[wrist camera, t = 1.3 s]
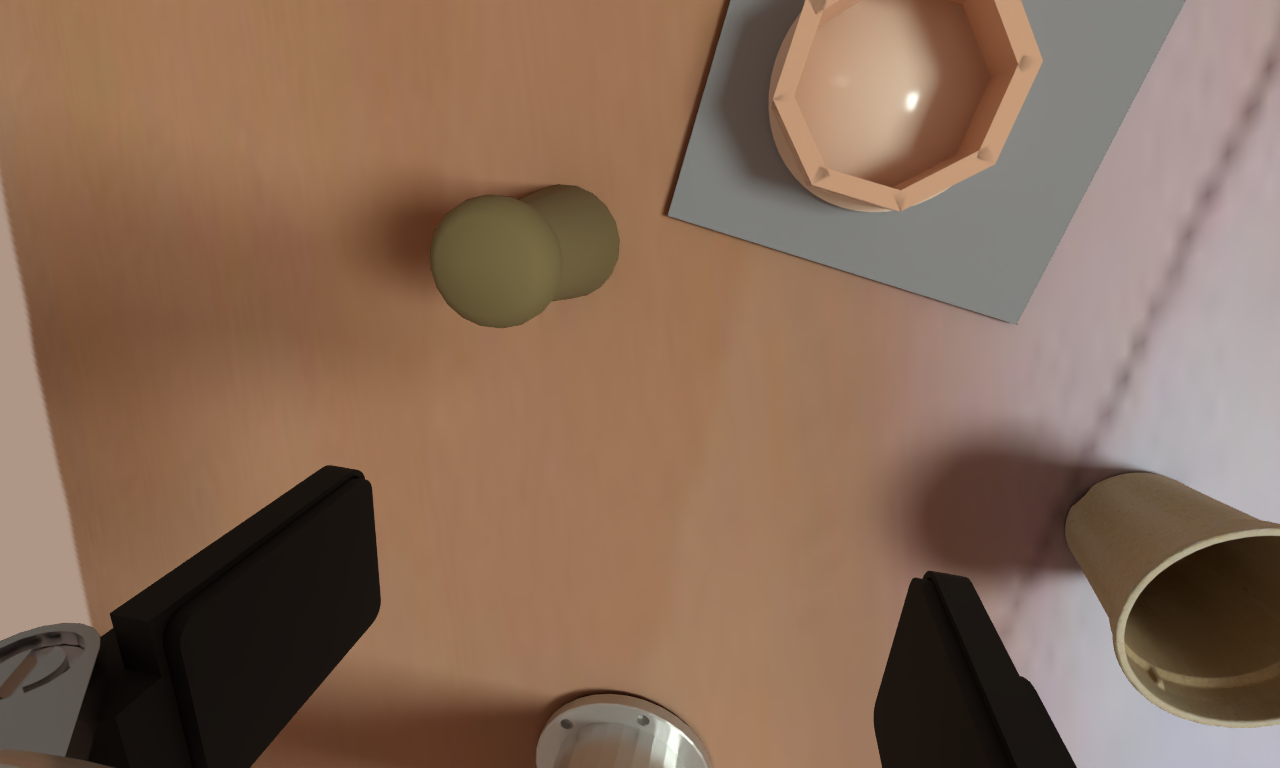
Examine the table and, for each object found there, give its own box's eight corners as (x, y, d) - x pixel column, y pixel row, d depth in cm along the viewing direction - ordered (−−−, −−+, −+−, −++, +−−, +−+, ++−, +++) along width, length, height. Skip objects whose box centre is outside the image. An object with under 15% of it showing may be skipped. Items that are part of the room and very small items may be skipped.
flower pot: (993, 501, 33) (1070, 603, 25) (1174, 405, 30) (1328, 485, 22) (1086, 625, 34) (1188, 759, 26) (1268, 544, 31) (1448, 669, 23)
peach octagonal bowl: (945, 239, 29) (970, 246, 26) (737, 176, 30) (735, 174, 27) (1055, -3, 26) (1101, -32, 22) (817, -68, 26) (826, -105, 23)
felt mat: (1013, 323, 30) (1016, 324, 30) (668, 215, 32) (667, 215, 31) (1204, -45, 25) (1211, -49, 24) (777, -156, 26) (777, -161, 26)
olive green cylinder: (539, 313, 34) (447, 367, 24) (494, 210, 33) (376, 220, 23) (636, 275, 33) (582, 316, 23) (593, 165, 31) (515, 155, 21)
